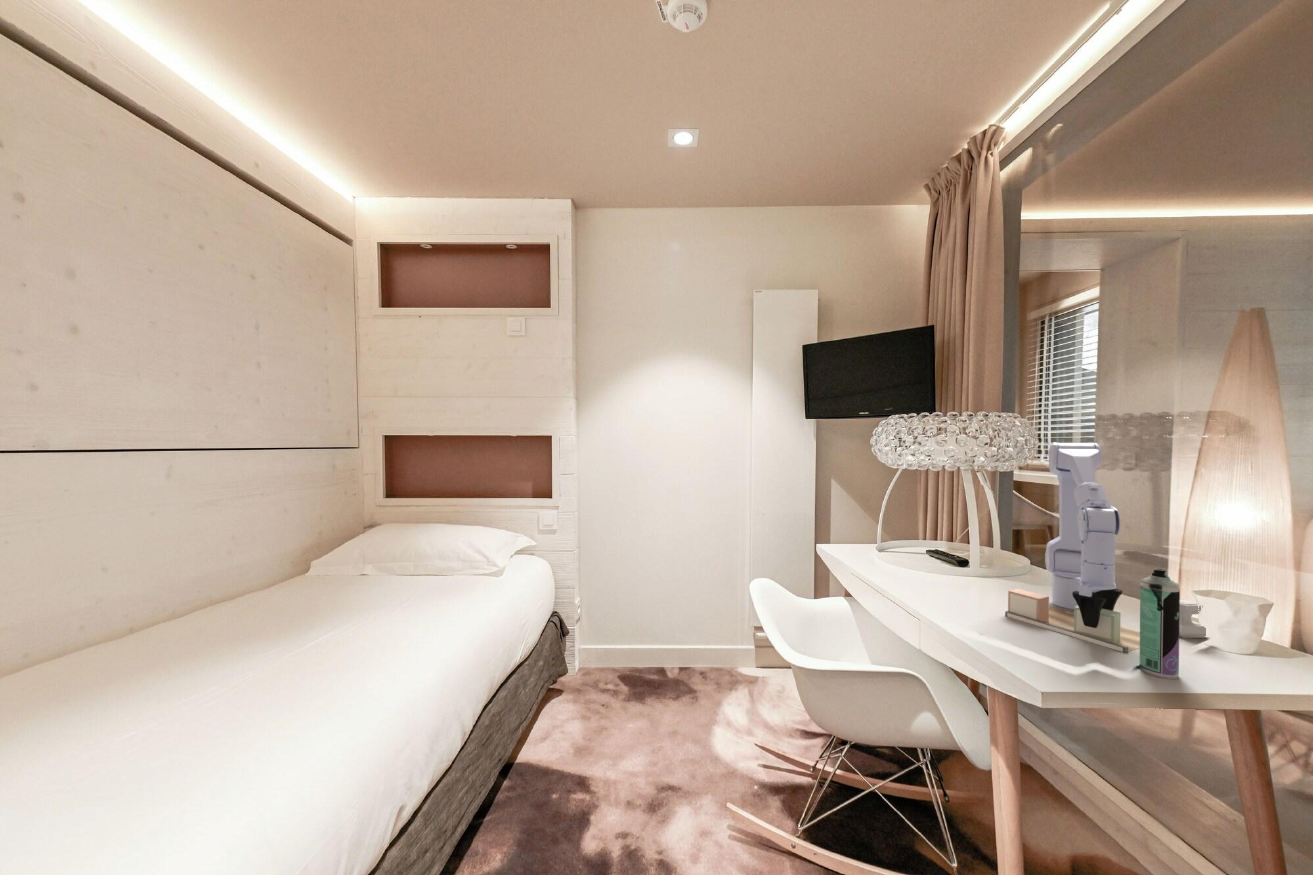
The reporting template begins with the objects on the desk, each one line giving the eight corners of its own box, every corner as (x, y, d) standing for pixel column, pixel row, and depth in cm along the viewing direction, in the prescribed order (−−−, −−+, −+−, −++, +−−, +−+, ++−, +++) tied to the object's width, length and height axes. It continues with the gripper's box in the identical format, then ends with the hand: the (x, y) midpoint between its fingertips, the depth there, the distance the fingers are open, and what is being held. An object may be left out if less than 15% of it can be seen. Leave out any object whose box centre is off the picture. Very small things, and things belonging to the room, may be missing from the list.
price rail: (1007, 619, 129) (1007, 610, 129) (1128, 657, 107) (1128, 646, 107) (1005, 620, 129) (1005, 611, 129) (1125, 658, 107) (1125, 647, 107)
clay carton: (1017, 612, 131) (1018, 588, 131) (1048, 621, 125) (1048, 596, 125) (1007, 614, 129) (1008, 590, 129) (1038, 624, 123) (1038, 598, 123)
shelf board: (1045, 610, 136) (1045, 606, 136) (1165, 644, 114) (1165, 638, 114) (1005, 620, 129) (1005, 615, 129) (1125, 658, 107) (1125, 652, 107)
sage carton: (1080, 629, 119) (1080, 603, 119) (1120, 639, 114) (1120, 612, 114) (1073, 633, 117) (1074, 606, 117) (1113, 644, 111) (1114, 616, 111)
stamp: (1188, 633, 121) (1188, 597, 121) (1218, 644, 114) (1219, 606, 114) (1149, 632, 121) (1149, 596, 121) (1177, 644, 114) (1177, 606, 114)
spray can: (1182, 681, 97) (1184, 574, 97) (1143, 674, 100) (1144, 570, 100) (1173, 670, 102) (1174, 568, 101) (1136, 663, 105) (1137, 564, 104)
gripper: (1088, 554, 122) (1087, 611, 123) (1062, 562, 115) (1061, 623, 115) (1127, 560, 117) (1126, 621, 117) (1102, 569, 109) (1102, 634, 109)
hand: (1097, 623), depth 115 cm, fingers open, 7 cm apart
